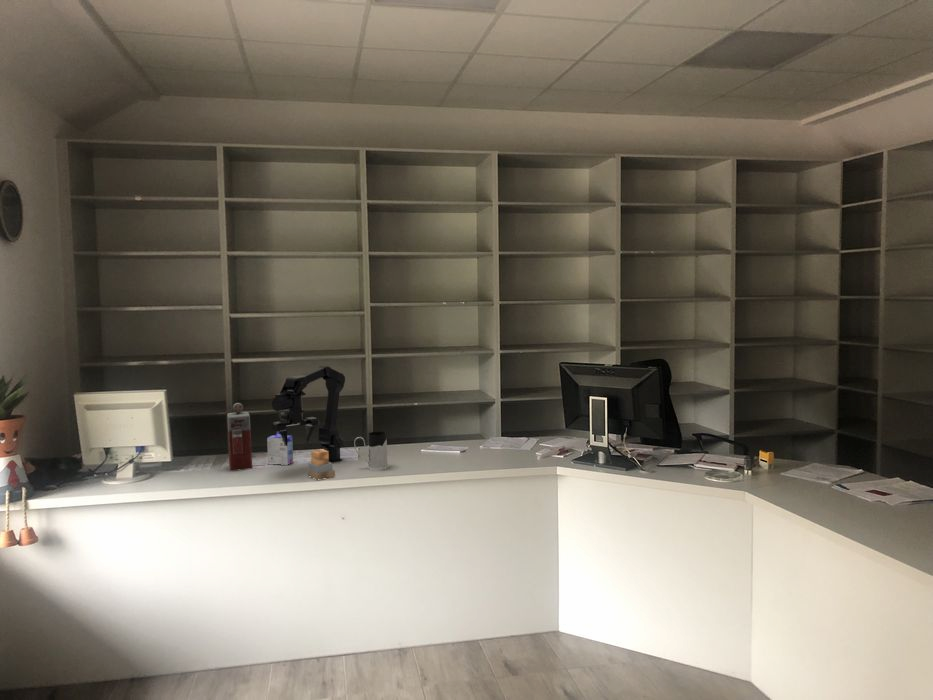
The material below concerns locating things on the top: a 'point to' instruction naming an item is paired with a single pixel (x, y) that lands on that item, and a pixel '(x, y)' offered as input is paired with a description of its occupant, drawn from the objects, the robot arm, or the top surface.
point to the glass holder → (376, 450)
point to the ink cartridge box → (279, 450)
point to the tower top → (320, 468)
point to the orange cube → (319, 457)
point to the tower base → (321, 474)
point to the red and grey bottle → (239, 438)
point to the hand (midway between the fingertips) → (296, 444)
